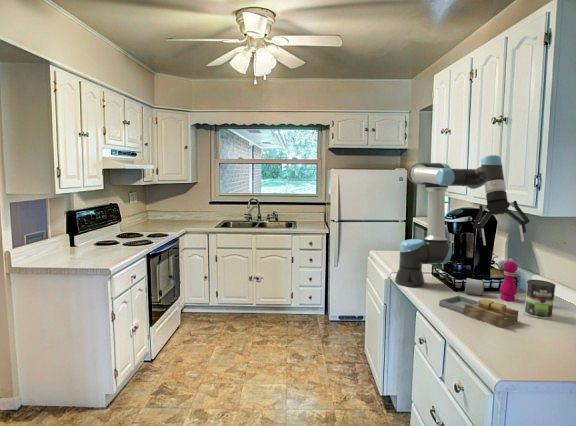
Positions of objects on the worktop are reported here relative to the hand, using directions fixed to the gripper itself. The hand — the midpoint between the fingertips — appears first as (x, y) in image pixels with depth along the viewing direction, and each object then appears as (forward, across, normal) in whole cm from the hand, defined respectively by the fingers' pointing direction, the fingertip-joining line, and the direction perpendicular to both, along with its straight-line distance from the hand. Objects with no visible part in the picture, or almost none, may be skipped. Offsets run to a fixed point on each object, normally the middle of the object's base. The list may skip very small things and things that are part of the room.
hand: (503, 243), depth 161 cm
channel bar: (+29, -9, +11) cm, 32 cm away
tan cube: (+26, -10, +11) cm, 30 cm away
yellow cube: (+27, -6, +9) cm, 29 cm away
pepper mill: (+21, -1, +42) cm, 47 cm away
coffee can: (+28, +10, +27) cm, 40 cm away
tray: (+24, -20, +19) cm, 37 cm away
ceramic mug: (+18, -15, +44) cm, 50 cm away
